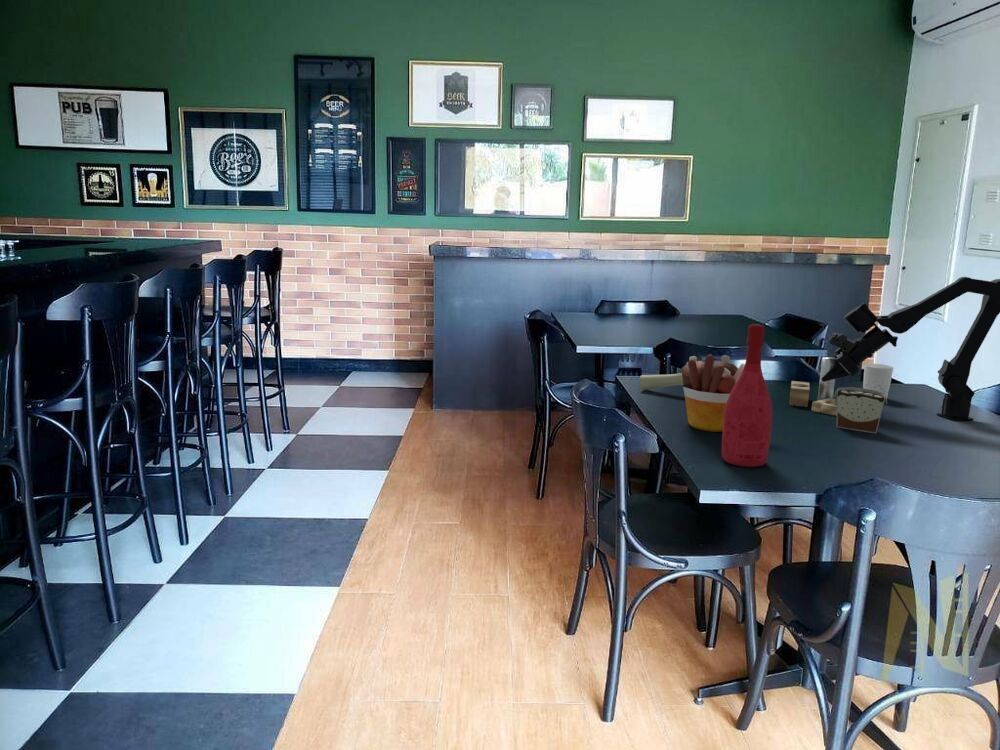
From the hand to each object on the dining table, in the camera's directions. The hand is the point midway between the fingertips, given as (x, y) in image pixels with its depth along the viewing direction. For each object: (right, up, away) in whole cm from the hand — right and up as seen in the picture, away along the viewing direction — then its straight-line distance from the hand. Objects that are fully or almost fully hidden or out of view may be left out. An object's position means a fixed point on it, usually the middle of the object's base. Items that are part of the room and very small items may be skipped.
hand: (822, 379), depth 215 cm
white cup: (+22, -6, +12) cm, 26 cm away
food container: (-1, -13, -25) cm, 28 cm away
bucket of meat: (-41, -12, -28) cm, 51 cm away
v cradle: (-2, -9, -8) cm, 12 cm away
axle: (+1, -7, +1) cm, 7 cm away
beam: (-5, -7, +4) cm, 9 cm away
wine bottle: (-42, -18, -56) cm, 72 cm away
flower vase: (-36, -6, +5) cm, 37 cm away
